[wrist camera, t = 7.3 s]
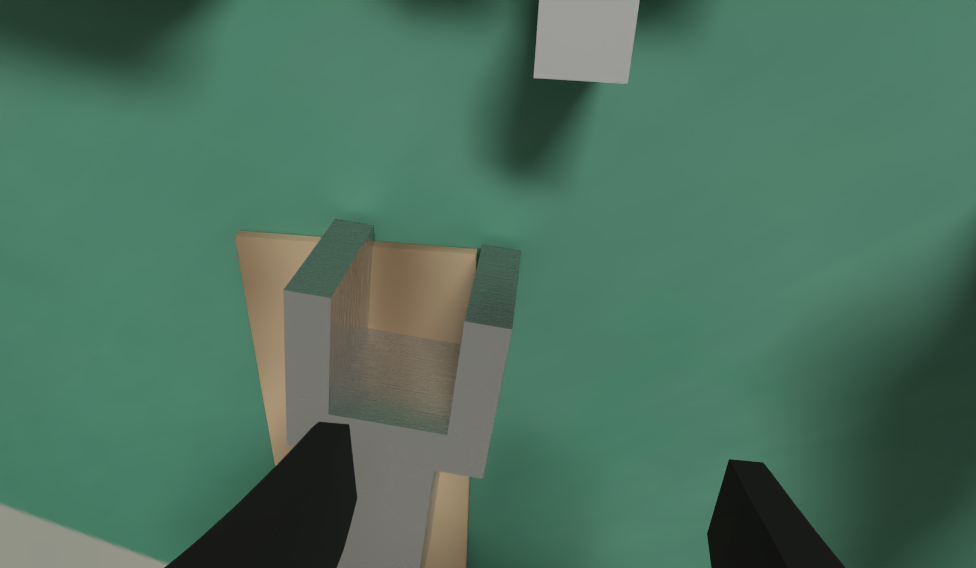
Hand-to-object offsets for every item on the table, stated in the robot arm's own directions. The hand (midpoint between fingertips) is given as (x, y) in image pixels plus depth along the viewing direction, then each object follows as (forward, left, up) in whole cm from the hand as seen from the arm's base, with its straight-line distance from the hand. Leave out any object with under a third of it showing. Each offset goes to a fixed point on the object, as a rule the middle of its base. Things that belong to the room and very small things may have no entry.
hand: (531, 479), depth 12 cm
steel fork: (+4, +7, -9) cm, 12 cm away
